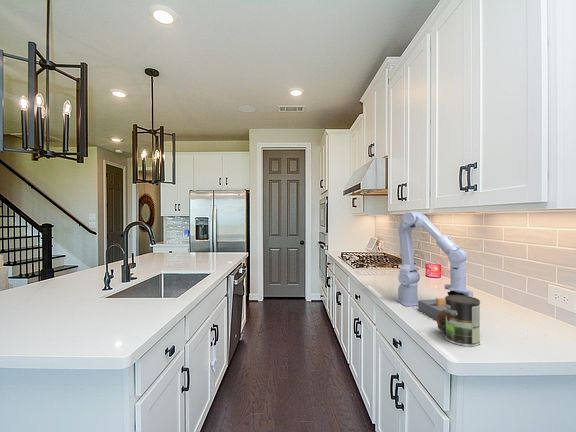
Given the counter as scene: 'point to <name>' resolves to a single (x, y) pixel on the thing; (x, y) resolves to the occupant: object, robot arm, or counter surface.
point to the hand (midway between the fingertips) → (458, 309)
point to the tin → (442, 320)
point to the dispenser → (430, 308)
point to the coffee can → (463, 320)
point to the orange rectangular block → (440, 301)
